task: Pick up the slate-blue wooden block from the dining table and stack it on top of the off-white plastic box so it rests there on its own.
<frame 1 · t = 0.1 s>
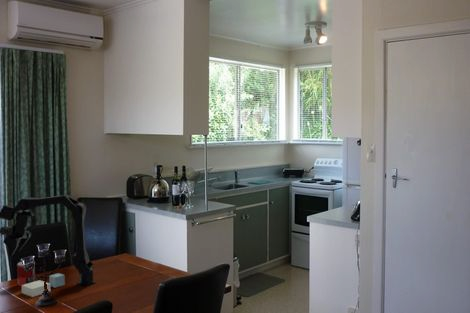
hand: (13, 254, 224), 15 cm above the table, tool pointing down, fingers open, 9 cm apart
base box: (36, 292, 215), on the table
block: (57, 285, 225), on the table
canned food: (26, 285, 225), on the table
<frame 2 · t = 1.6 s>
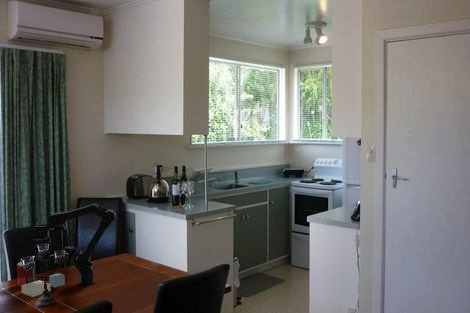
hand: (57, 270, 224), 7 cm above the table, tool pointing down, fingers open, 9 cm apart
nothing on the table moved.
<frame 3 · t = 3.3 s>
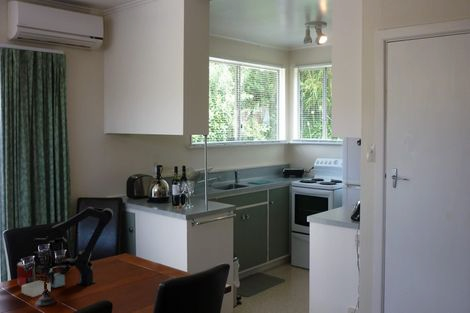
hand: (57, 283, 225), 1 cm above the table, tool pointing down, fingers closed on block, 5 cm apart
block: (57, 285, 225), on the table, touching gripper
everything else where it was.
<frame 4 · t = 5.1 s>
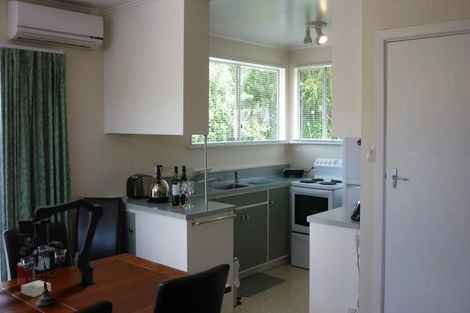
hand: (41, 266, 217), 11 cm above the table, tool pointing down, fingers closed on block, 5 cm apart
block: (41, 268, 217), point 10 cm above the table, touching gripper
everything else where it was.
when the fingers open (6 cm above the table, at t = 7.2 s): block drops 2 cm, resting on base box.
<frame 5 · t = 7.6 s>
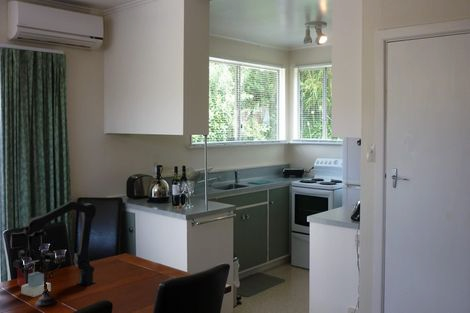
hand: (36, 278, 214), 6 cm above the table, tool pointing down, fingers open, 9 cm apart
base box: (36, 293, 215), on the table, touching block
block: (36, 284, 215), point 4 cm above the table, touching base box
everything else where it was.
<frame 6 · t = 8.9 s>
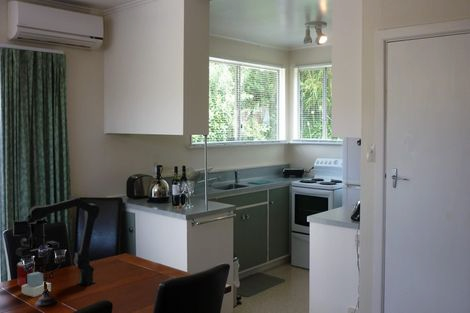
hand: (38, 266, 216), 12 cm above the table, tool pointing down, fingers open, 9 cm apart
nothing on the table moved.
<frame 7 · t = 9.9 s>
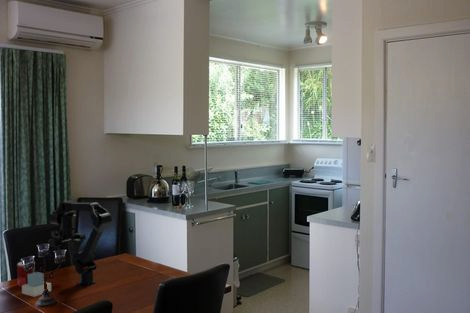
hand: (67, 256, 233), 12 cm above the table, tool pointing down, fingers open, 9 cm apart
nothing on the table moved.
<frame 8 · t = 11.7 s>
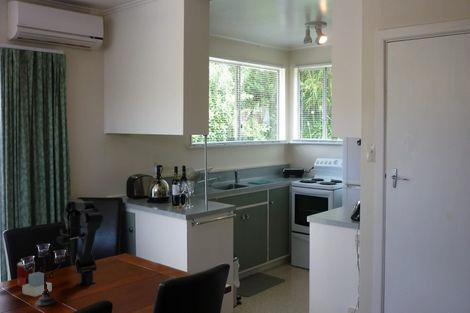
hand: (75, 253, 238), 12 cm above the table, tool pointing down, fingers open, 9 cm apart
nothing on the table moved.
at the end: block 0.2 cm off-centre on the base box, point 4.0 cm above the base box's base; the gripper is holding nothing; block tilted 0° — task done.
